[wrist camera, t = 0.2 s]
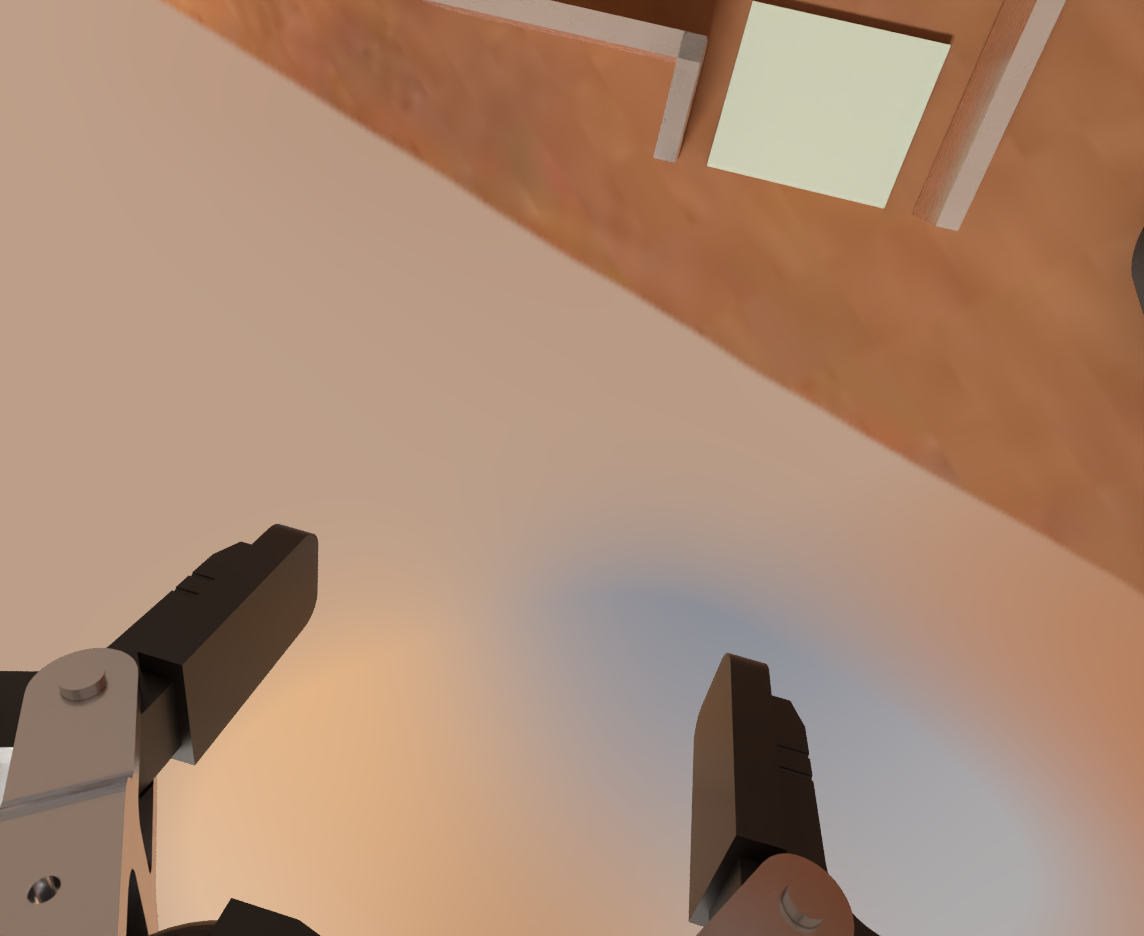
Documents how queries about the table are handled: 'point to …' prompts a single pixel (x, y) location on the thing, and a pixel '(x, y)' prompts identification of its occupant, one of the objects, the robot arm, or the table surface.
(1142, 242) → the media streaming box
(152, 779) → the robot arm
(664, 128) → the channel
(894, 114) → the pad
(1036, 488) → the table surface
